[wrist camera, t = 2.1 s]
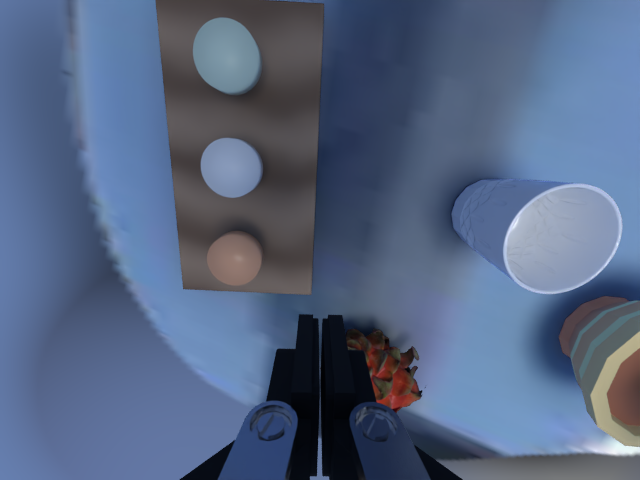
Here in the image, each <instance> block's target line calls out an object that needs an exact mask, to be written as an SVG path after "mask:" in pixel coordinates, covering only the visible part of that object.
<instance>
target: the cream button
mask: <svg viewBox="0 0 640 480" xmlns="http://www.w3.org/2000/svg"><path fill="white" fill-rule="evenodd" d="M201 172H202V176H203V178H204V180H205V182H206V184H207V185H208V186H209V187H210V188H211V189H212V190H213V191H214V192H216V193H217V194H219V195H221V196H224V197H229V198H236V197H241V196H243V195H245V194H247V193H249V192H250V191H252V190H253V189H255V188H256V187H257V185H258V184H259V183H260V181H261V178H262V174H263V164H262V160H261V157H260V155H259V153H258V152H257V150H256V149H255V148H254V147H253V146H252V145H250V144H249V143H247V142H246V141H243V140H240V139H234V138H221V139H218V140H216V141H214V142H212V143H211V144H210V145H208V147H207V148H206V149H205V151H204V152H203V155H202V158H201Z"/></svg>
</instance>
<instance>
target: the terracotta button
mask: <svg viewBox="0 0 640 480" xmlns="http://www.w3.org/2000/svg"><path fill="white" fill-rule="evenodd" d="M263 259H264V253H263V249H262V246H261V245H260V243H259V241H258V240H257V239H256V238H255V237H253V236H252V235H250V234H248V233H246V232H243V231H231V232H227V233H225V234H224V235H222V236H221V237H220V238H219V239H217V240H216V241H215V242H214V243H213V244H212V245H211V247H210V248H209V250H208V254H207V264H208V267H209V269H210V271H211V273H212V274H213V275H214V276H215V277H216V278H217V279H218V280H219V281H221V282H223V283H225V284H228V285H234V286H238V285H243V284H246V283H248V282H250V281H251V280H253V279H254V278H255V276H256V275H257V273H258V271H259V269H260V268H261V266H262V263H263Z"/></svg>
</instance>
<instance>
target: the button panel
mask: <svg viewBox="0 0 640 480" xmlns="http://www.w3.org/2000/svg"><path fill="white" fill-rule="evenodd" d="M156 10H157V20H158V31H159V41H160V52H161V62H162V72H163V83H164V93H165V104H166V114H167V125H168V135H169V145H170V156H171V166H172V177H173V187H174V198H175V208H176V218H177V229H178V239H179V250H180V260H181V270H182V281H183V289H194V290H216V291H238V292H260V293H282V294H304V295H311V289H312V268H313V246H314V223H315V201H316V179H317V156H318V134H319V112H320V89H321V67H322V45H323V23H324V4H323V3H306V2H288V1H271V0H156ZM215 18H230V19H233V20H235V21H237V22H239V23H241V24H242V25H243V26H244V27H245V28H246V29H247V30H248V31H249V32H250V34H251V35H252V37H253V39H254V40H255V42H256V44H257V45H258V47H259V50H260V53H261V57H262V72H261V75H260V78H259V80H258V82H257V84H256V85H255V86H254V87H253V88H252V89H251V90H250V91H248V92H246V93H244V94H241V95H228V94H225V93H223V92H221V91H219V90H217V89H216V88H214V87H212V86H211V85H209V84H208V83H207V82H206V81H205V80H204V79H203V78H202V77H201V75H200V74H199V72H198V70H197V68H196V65H195V62H194V58H193V44H194V40H195V37H196V35H197V33H198V31H199V30H200V28H201V27H202V26H203V25H204V24H205V23H207V22H208V21H210V20H212V19H215ZM221 138H234V139H240V140H243V141H246V142H247V143H249V144H250V145H252V146H253V147H254V148H255V149H256V150H257V152H258V153H259V155H260V157H261V160H262V164H263V174H262V178H261V181H260V183H259V184H258V185H257V187H256V188H255V189H253V190H252V191H250V192H249V193H247V194H245V195H243V196H241V197H236V198H229V197H224V196H221V195H219V194H217V193H216V192H214V191H213V190H212V189H211V188H210V187H209V186H208V185H207V184H206V182H205V180H204V178H203V176H202V172H201V158H202V155H203V152H204V151H205V149H206V148H207V147H208V145H210V144H211V143H212V142H214V141H216V140H218V139H221ZM231 231H243V232H246V233H248V234H250V235H252V236H253V237H255V238H256V239H257V240H258V241H259V243H260V245H261V246H262V249H263V253H264V259H263V263H262V266H261V268H260V269H259V271H258V273H257V275H256V276H255V278H254V279H253V280H251V281H250V282H248V283H246V284H243V285H238V286H234V285H228V284H225V283H223V282H221V281H219V280H218V279H217V278H216V277H215V276H214V275H213V274H212V273H211V271H210V269H209V267H208V264H207V254H208V250H209V248H210V247H211V245H212V244H213V243H214V242H215V241H216V240H217V239H219V238H220V237H221V236H222V235H224V234H225V233H227V232H231Z"/></svg>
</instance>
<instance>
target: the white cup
mask: <svg viewBox="0 0 640 480" xmlns="http://www.w3.org/2000/svg"><path fill="white" fill-rule="evenodd" d="M451 216H452V223H453V229H454V230H455V231H456V232H457V234H458V235H459V236H460V238H461V239H462V240H463V241H465V242H466V243H467V244H469V245H470V246H471V247H472V248H473V249H474V250H475V251H476V252H477V253H479V254H480V255H481V256H482V257H483V258H485V259H486V260H487V261H489V262H490V263H491V264H492V265H494V266H495V267H496V268H498V269H499V270H500V271H502V272H503V273H504V274H506V275H507V276H508V277H509V278H511V279H512V280H513V281H515V282H516V283H517V284H518V285H520V286H521V287H523V288H525V289H527V290H529V291H532V292H536V293H541V294H557V293H563V292H567V291H570V290H573V289H576V288H578V287H580V286H582V285H584V284H586V283H587V282H589V281H590V280H592V279H593V278H594V277H596V276H597V275H598V274H599V273H600V272H601V271H602V270H603V269H604V268H605V267H606V266H607V265H608V263H609V262H610V261H611V259H612V258H613V256H614V254H615V252H616V250H617V248H618V246H619V243H620V240H621V235H622V217H621V213H620V210H619V208H618V206H617V204H616V203H615V201H614V200H613V199H612V197H611V196H610V195H608V194H607V193H606V192H605V191H603V190H601V189H599V188H597V187H595V186H591V185H587V184H579V183H565V182H553V181H541V180H522V179H483V180H480V181H478V182H476V183H474V184H472V185H470V186H468V187H466V188H465V190H464V191H463V192H462V193H461V194H460V195H459V196H458V198H457V199H456V201H455V204H454V207H453V210H452V213H451Z"/></svg>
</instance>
